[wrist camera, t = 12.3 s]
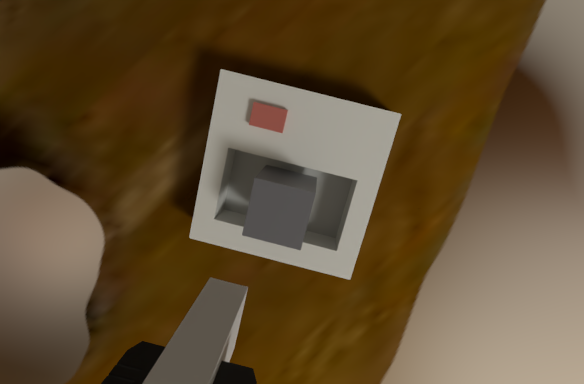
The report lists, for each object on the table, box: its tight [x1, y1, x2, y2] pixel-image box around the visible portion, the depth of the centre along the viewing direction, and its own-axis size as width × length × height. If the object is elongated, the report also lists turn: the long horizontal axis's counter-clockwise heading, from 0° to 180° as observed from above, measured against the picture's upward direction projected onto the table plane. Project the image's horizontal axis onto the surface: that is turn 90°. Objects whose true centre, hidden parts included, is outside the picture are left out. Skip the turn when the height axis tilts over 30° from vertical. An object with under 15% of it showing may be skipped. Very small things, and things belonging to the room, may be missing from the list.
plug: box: [242, 165, 317, 250], centre depth 34 cm, size 5×5×8 cm
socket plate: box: [189, 69, 401, 280], centre depth 36 cm, size 16×16×5 cm
